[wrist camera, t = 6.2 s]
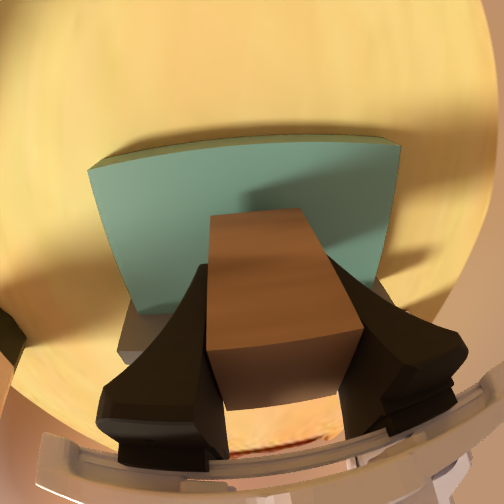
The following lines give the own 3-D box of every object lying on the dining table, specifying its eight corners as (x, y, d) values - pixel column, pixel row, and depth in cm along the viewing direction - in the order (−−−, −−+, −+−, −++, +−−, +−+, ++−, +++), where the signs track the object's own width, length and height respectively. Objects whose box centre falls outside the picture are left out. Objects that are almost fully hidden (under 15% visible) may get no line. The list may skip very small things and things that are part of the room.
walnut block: (296, 276, 14) (335, 394, 9) (220, 284, 14) (226, 410, 8) (299, 207, 12) (364, 327, 6) (210, 215, 12) (206, 350, 6)
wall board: (368, 284, 20) (395, 331, 16) (138, 310, 19) (125, 364, 15) (395, 138, 14) (449, 165, 10) (87, 162, 13) (41, 199, 9)
